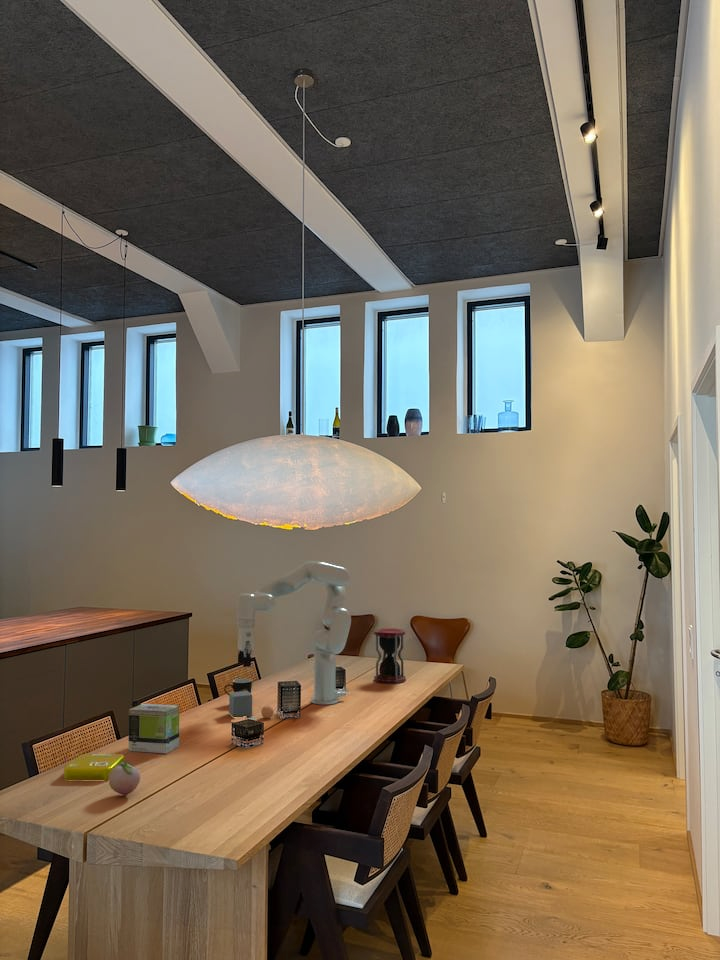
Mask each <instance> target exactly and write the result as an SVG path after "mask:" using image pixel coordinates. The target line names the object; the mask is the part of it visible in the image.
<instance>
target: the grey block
mask: <svg viewBox="0 0 720 960" xmlns="http://www.w3.org/2000/svg"><path fill="white" fill-rule="evenodd" d="M228 694H229V695H228V696H229V697H228V699H229V700H228V701H229V703H228V704H229V706H228V708H229V709H228V710H229V711H228V712H229V713H230V714H231V715H232V716H233V717H243V716H252V717H253V694H252V692H251V693H249V692H248V691H242V692H234V691H231V692H228ZM229 713H228V714H229ZM230 714H229V715H230ZM231 715H230V716H231ZM232 716H231V717H232ZM233 717H232V718H233Z"/></svg>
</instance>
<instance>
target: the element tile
mask: <svg viewBox="0 0 720 960" xmlns="http://www.w3.org/2000/svg"><path fill="white" fill-rule="evenodd" d="M123 762H125V755H124V754H122V753H82V754H80V755H78V756H77V757H76V758H74V759H73V760H72V761H70V762H69V763H68V764H66V765H65V767H64V768H63V769H64V771H63V772H64V774H63V776H64V777H63V780H64V779H66V780H109V775H110V773H111V771H112V770H113V769H114V768H116V767H117V766H119V763H123Z"/></svg>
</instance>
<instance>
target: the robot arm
mask: <svg viewBox="0 0 720 960" xmlns="http://www.w3.org/2000/svg"><path fill="white" fill-rule="evenodd" d="M313 581H314V582H320V583H323V584H324V586H325V588H326V591H327V592H326V599H325V603H324V606H323V610H322V614H321V619H320V620H321V623H322V625H324V626H325V627H327V628H329V629H320V630H317V631H316V632H315V633H314V634H313V637H312V640H311V641H312V643H311V644H312V649H313V651H312V652H313V658H314V660H313V661H314V662H313V663H314V665H313V666H314V667H313V672H314V676H313V677H314V680H313V682H314V683H313V684H314V685H313V687H314V688H313V690H314V691H313V692H314V693H313V697H311V698H310V703H312V704H315V705H322V706H323V705H325V706H326V705H334V704H338V703H339V702H340V697H346V696H347V691H341V690H339V691H338V690H336V687H337V685H336V684H337V682H336V669H337V668H336V664H337V663H336V656H335V655H339V654H340V653H342V651H344V649H345V647H346V645H347V640H348V637H349V633H350V629H351V625H352V616H351V613H350V612H349V610H348V609H346V608H345V603H346V596H347V595H346V594H347V593H346V591H347V590H346V588H345V586H346V585H347V584H348V583H349V581H350V572H349V571H348V569H346V568H345V567H342V566H337V565H334V564H330V563H326V562H321V561H317V560H316V561H315V560H309V561H305V562H304V563H302V564H300V565H299V566H298V567H296V568H294V569H293V570H292V571H290V572H288V573H286V574H285V575H283V576H281V577H279V578H277V579H275V580H272V581H271V582H269V583H267V584H265V585H263V586H261V587H260V588H258V589H257V590H255V591H254V592H252V593H240V594H239V595H238V596H237V597H238V598H237V616H236V617H237V619H236V628H238V634H237V648H238V653H237V664H238V663H239V664H243V665H242V667H244V668H250V667H252V652H254V650H255V637H254V636H255V634H254V633H255V632H254V628H255V627H256V612H257V611H260V612H270V611H272V610H273V609H274V608H275V606H276V599H277V598H279V597H282V596H288V595H292V594H295V593H297V592H298V591H299V590H301V589H302V588H304V587H305V586H307V585H308V584H310V583H311V582H313Z"/></svg>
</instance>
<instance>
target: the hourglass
mask: <svg viewBox="0 0 720 960" xmlns="http://www.w3.org/2000/svg"><path fill="white" fill-rule="evenodd" d="M373 635H375V651H376V653H377V655H378V658H377V660H376V662H375V676H373V681H374V682H376V683H378V684H388V685H389V684H390V685H391V684H401V682H402V683H404V681H405V682H406V681H407V679H406V678H407V677H406V676H405V674H404V660H403V658H402V655H401V654H402V650H403V649H404V636H405V635H406V630H405V629H403V628H377V629H374V630H373ZM379 647H380V648H381V650H382V652H383V655H382V653H381V651H380V650H379ZM399 647H400V649H399ZM398 649H399V650H398ZM397 656H398V659H399V660H400V663H399V662H398V661H397ZM381 659H382V661H381ZM380 661H381V662H380Z"/></svg>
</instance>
